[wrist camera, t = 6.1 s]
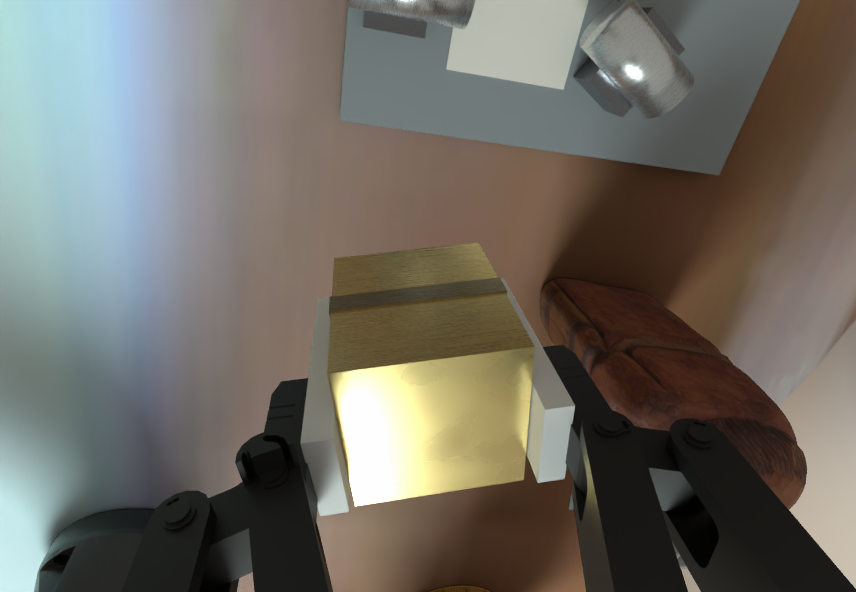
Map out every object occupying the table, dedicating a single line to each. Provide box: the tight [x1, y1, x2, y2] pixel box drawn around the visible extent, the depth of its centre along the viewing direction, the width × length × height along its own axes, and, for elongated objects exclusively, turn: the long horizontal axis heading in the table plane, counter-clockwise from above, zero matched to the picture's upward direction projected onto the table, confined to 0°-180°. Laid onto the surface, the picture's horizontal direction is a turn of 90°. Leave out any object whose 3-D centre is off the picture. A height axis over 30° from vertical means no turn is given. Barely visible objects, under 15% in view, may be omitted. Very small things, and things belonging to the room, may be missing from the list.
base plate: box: [340, 0, 800, 175], centre depth 27 cm, size 25×14×1 cm, turn 80°
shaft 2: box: [573, 0, 694, 119], centre depth 25 cm, size 6×4×4 cm
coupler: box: [327, 243, 535, 506], centre depth 15 cm, size 5×5×6 cm
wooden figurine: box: [540, 278, 807, 510], centre depth 30 cm, size 12×6×18 cm, turn 73°
